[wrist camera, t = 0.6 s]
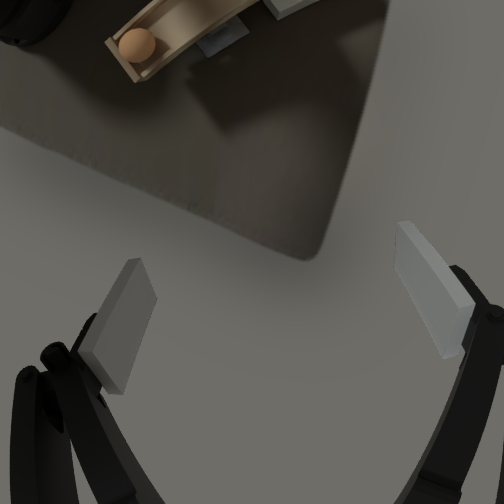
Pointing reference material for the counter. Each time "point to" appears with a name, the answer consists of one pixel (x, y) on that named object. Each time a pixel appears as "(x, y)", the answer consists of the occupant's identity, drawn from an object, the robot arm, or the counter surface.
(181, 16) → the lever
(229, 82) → the counter surface
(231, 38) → the fulcrum
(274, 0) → the grey open bin
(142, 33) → the ball
